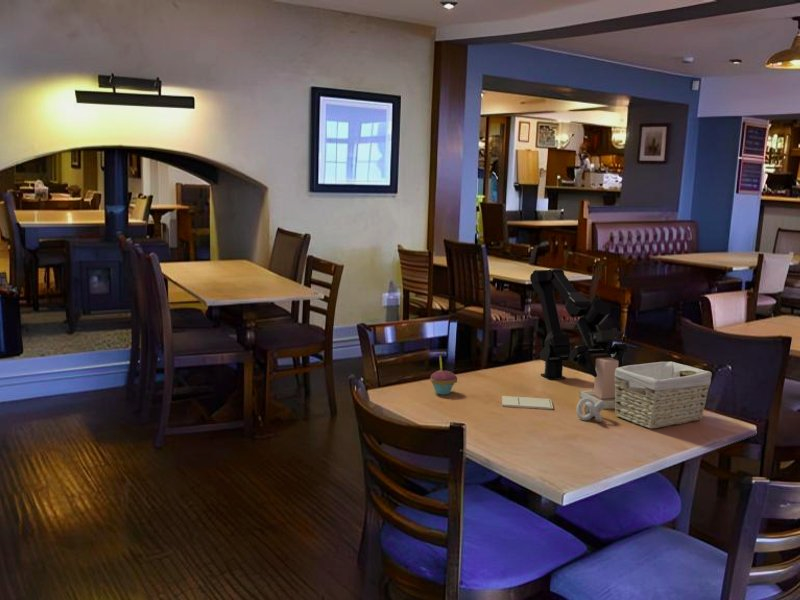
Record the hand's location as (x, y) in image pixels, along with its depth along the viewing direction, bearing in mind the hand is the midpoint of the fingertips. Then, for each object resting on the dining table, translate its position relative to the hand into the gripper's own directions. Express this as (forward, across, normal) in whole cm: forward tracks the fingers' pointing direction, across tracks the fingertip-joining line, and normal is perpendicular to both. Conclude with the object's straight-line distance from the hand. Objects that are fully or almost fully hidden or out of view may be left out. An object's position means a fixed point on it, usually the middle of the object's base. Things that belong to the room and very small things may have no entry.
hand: (608, 375), depth 217 cm
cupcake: (-10, -45, +23) cm, 52 cm away
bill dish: (+5, 0, +7) cm, 9 cm away
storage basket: (+18, +6, -5) cm, 20 cm away
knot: (+15, -14, -2) cm, 21 cm away
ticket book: (+2, -24, +11) cm, 27 cm away
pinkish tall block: (+5, 0, +7) cm, 8 cm away
